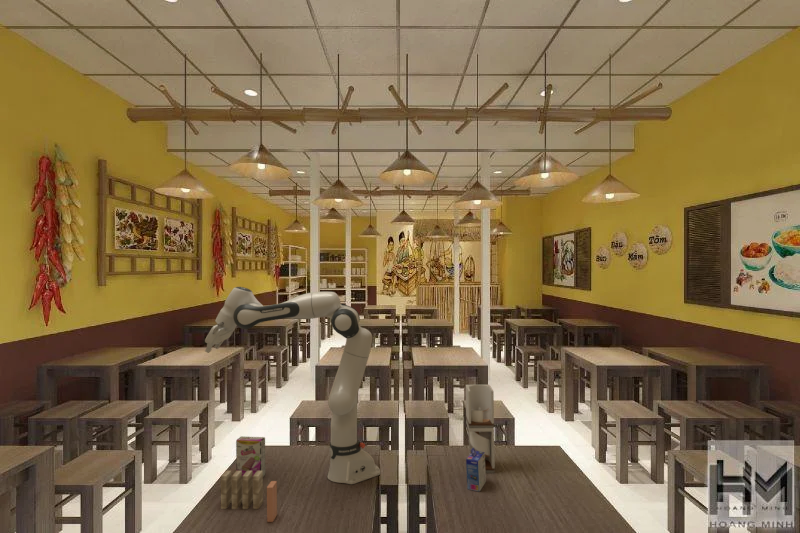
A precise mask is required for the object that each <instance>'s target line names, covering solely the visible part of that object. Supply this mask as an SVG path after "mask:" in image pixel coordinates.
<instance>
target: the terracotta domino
mask: <svg viewBox="0 0 800 533" xmlns="http://www.w3.org/2000/svg"><path fill="white" fill-rule="evenodd" d="M277 516H278V482H277V480H271V481H270V482H269V483H268V485H267V486H266V517H267V518H266V521H267V523H274V521H275V519H276V517H277Z"/></svg>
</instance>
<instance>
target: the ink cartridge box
mask: <svg viewBox="0 0 800 533" xmlns="http://www.w3.org/2000/svg"><path fill="white" fill-rule="evenodd" d="M473 450H474V451H473ZM465 466H466V467H465V468H466V483H467V484H466V485H467V486H466V487H467V490H469V491H475V492H481V491H482V488H483V487H484V485H485V484H486V482H487V479H486V478H487V476H486V474H487V473H486V472H485V452H480V451H475V449H474V448H472V449H471V454H470V455H469V454H468V456H467V457H466V459H465Z"/></svg>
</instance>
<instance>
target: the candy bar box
mask: <svg viewBox="0 0 800 533" xmlns="http://www.w3.org/2000/svg"><path fill="white" fill-rule="evenodd" d="M235 444H236V445H235V448H236V449H235V453H236V455H235V456H236V457H235V459H236V461H235V463H236V464H235V466H236V470H235V472H236V471H242V476H243V475H244V474H245V473H246V471H252V480H253V476H254V474H255V473H256V472H257V471H263V477H265V476H266V437H265V436H264V437H263V436H241V435H240V436H239V438H237V439H236V442H235Z"/></svg>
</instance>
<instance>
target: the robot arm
mask: <svg viewBox="0 0 800 533" xmlns="http://www.w3.org/2000/svg"><path fill="white" fill-rule="evenodd" d="M317 318H329V319H330V321H331V322H330V323H331V327H332V329H333V330H334V331H335V333H337V334H339V335H340V336H342V337H343V338H345V339H346V340H345V345H344V348H343V352H342V355H341V358H340V362H339V364H338V369H337V371H336V374H335V377H334V380H333V382H332V386H331V388H330V392H329V395H328V400H327V402H328V403H327V404H328V408H329V410H330V412H331V418H330V442H329V457H330V458H329V460H330V461H329V466H328V467H329V469H328V472H327V479H328V480H329V481H331V482H333V483H338V484H339V483H340V484H341V483H342V484H347V485H355V484H357V483H360V482H364V481H366V480H368V479H371V478H375V477H377V476H379V475H381V469H380V468H379V466H378V465H377V464H375V460H374V458H373V456H372V455H371V454H370V453H369V452H367V451H365V450H364V449H365V447H366V444H365V443H364V442H362V441H360V440H359V439H358V431H357V430H358V427H357V426H358V403H359V402H358V401H359V400H358V398H359V397H358V393H359V390H360V387H361V383H362V380H363V377H364V374H365V370H366V369H367V368H366V367H367V364H368V362H369V357H370V353H371V349H372V344H373V334H372V333H371V331H370V330H369V329H367V328H365V327H362V326H361V325H360V320H361V319H360V314H359V312H358V311H357V310H356V309H355V307H352V306H349V305H347V304H345V303H341V300H340V297H339V295H338V294H337V293H336V292H335V291H313V292H307V293H303V294H300V295H298V296H296V297H293V298H291V299H289V300H287V301H283V302H281V303H275V304H270V305H269V304H268V305H263V304H262V303H261V302H260V301H259V300H258V299H257V298H256V296H255V295H254V293H253V291H252V290H251V289H250V288H248V287H244V286H236V287H233V289H232V290H230V293H229V294H228V296H227V297H226V299H225V301H224V305H223V307H222V308H221V309H220V311H219V312H218V314H217V315H216V318H215V321H214V322H215V323H216V324H215V325H213V326H212V327H211V329H210V330H209V332H208V333H207V335H206V338H205V339H204V343H206V348H205V350H204V352H205V353H207V354H208V353H210V352H211V351H212V349H213V348H214V349H216V350H218V349H219V348H220V347H221V345H222V344H223V342H224V341H226V340H229V338H231V336H232V335H233V333H234V331H235V329H236V328H237V327H238V328H240V329H242V330H249V329H251V328H254V327H255V326H258V325H260V324H262V323H265V322H270V321H276V320H284V319H285V320H286V319H292V320H293V319H294V320H295V319H296V320H297V319H298V320H310V319H317Z"/></svg>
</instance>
